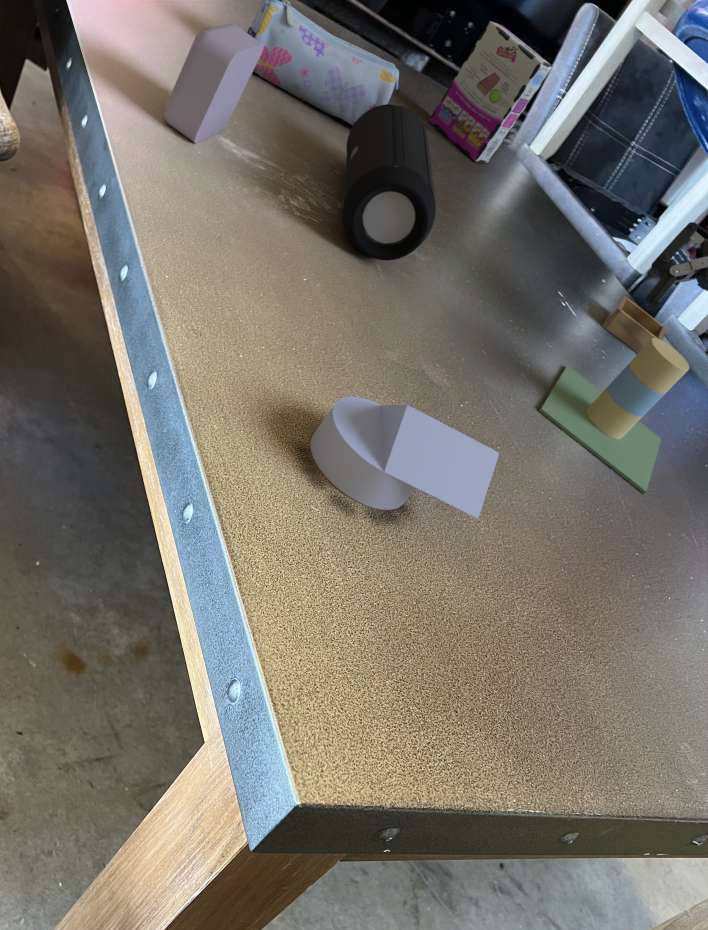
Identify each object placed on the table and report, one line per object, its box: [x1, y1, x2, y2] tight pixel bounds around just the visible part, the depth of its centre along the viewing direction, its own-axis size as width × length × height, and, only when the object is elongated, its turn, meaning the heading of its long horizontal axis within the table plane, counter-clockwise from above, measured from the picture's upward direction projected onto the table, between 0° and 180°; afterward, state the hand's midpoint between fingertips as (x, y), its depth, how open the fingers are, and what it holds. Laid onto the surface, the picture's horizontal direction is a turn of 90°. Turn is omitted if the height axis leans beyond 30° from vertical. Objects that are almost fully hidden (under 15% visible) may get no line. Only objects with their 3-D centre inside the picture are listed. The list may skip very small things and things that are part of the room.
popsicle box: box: [428, 20, 554, 164], centre depth 151 cm, size 11×5×16 cm, turn 47°
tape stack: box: [586, 338, 690, 439], centre depth 104 cm, size 5×5×10 cm
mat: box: [538, 364, 662, 495], centre depth 107 cm, size 14×16×1 cm
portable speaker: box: [341, 103, 437, 261], centre depth 110 cm, size 26×10×10 cm, turn 175°
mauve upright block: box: [163, 23, 263, 144], centre depth 102 cm, size 10×5×10 cm, turn 159°
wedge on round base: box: [310, 396, 500, 519], centre depth 75 cm, size 9×7×13 cm
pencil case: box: [246, 0, 400, 126], centre depth 128 cm, size 21×9×10 cm, turn 88°
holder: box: [601, 295, 667, 355], centre depth 133 cm, size 7×7×3 cm
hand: (680, 329), depth 110 cm, fingers open, 8 cm apart
